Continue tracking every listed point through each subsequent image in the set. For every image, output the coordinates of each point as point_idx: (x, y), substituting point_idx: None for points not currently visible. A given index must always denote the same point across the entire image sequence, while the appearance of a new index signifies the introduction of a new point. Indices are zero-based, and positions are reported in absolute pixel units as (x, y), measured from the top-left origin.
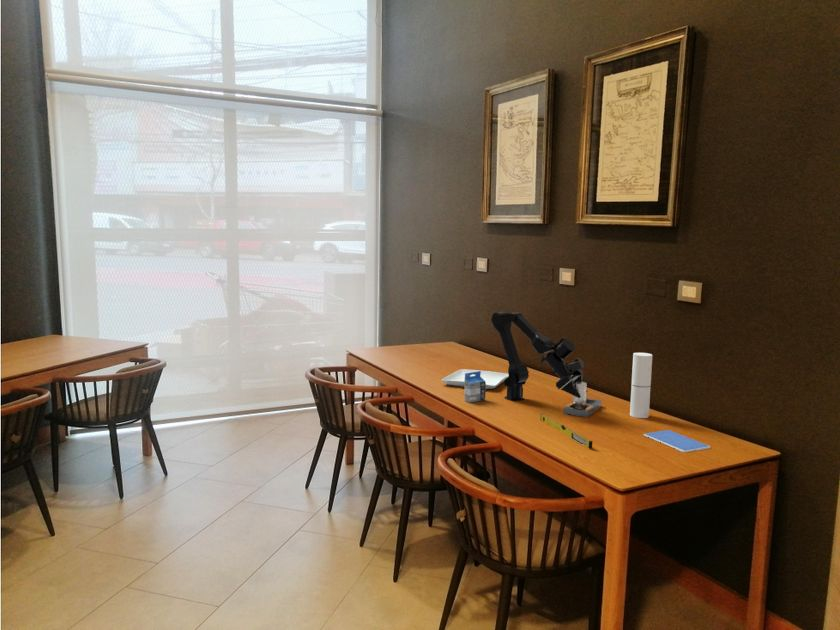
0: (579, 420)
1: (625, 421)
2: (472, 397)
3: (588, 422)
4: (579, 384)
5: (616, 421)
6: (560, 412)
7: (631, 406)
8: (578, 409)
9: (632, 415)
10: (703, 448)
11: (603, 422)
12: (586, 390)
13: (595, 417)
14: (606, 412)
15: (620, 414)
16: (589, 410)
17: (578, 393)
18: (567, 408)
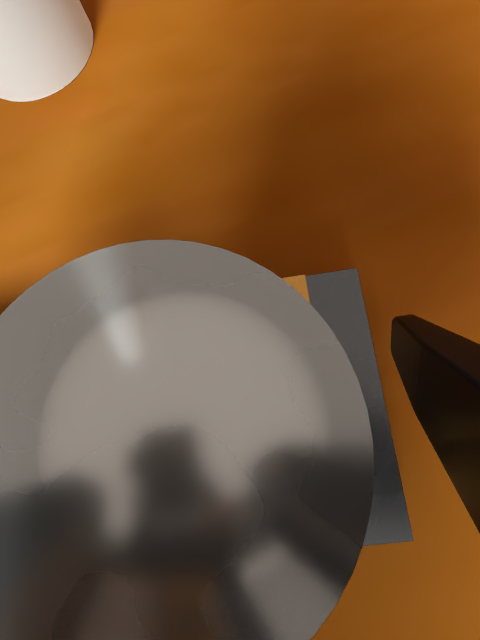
0: (475, 296)
1: (230, 47)
2: None
3: (467, 215)
4: (353, 382)
5: (275, 86)
6: (370, 567)
7: (27, 8)
8: (355, 367)
9: (80, 58)
10: None
11: (372, 136)
12: None
13: (286, 238)
14: (90, 237)
15: (80, 142)
16: None
17: (463, 337)
18: (401, 490)
